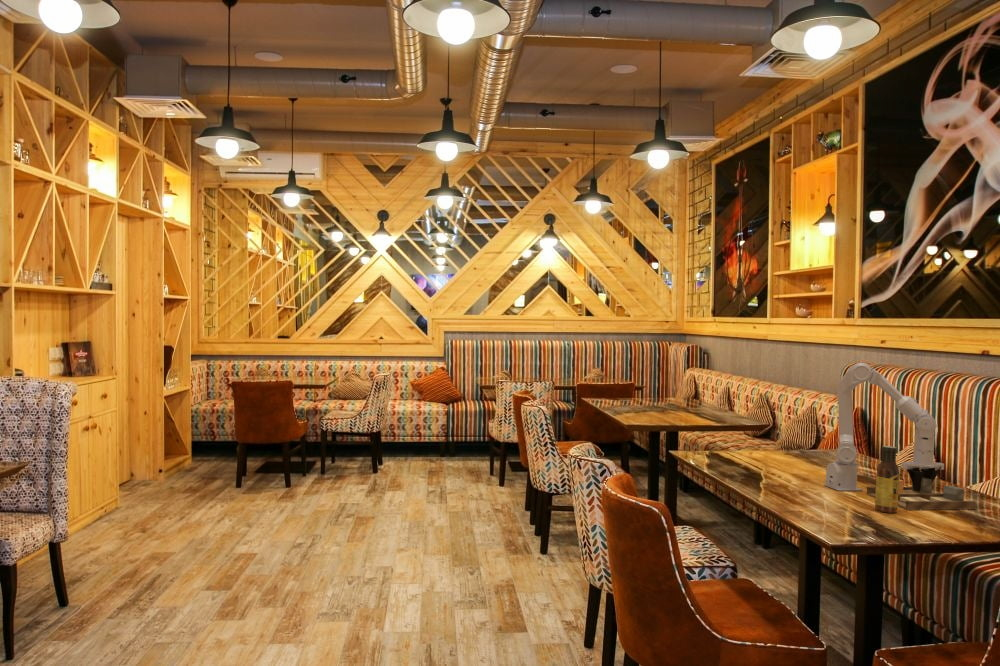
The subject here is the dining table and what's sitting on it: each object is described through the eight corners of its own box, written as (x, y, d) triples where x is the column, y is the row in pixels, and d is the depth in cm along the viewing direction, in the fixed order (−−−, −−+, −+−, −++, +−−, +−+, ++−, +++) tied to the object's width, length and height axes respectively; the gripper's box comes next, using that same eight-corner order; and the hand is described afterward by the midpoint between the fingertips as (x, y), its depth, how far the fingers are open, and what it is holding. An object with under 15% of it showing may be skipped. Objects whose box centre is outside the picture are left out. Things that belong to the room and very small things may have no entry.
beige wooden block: (889, 498, 232) (890, 480, 232) (875, 492, 239) (876, 475, 239) (933, 498, 235) (934, 480, 235) (917, 492, 242) (918, 475, 242)
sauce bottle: (896, 515, 215) (900, 449, 215) (873, 511, 219) (877, 446, 218) (898, 510, 221) (901, 446, 221) (875, 506, 224) (878, 444, 224)
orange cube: (890, 494, 234) (891, 480, 234) (881, 490, 238) (881, 477, 238) (902, 494, 235) (903, 480, 234) (893, 490, 239) (893, 477, 239)
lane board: (907, 510, 222) (908, 491, 222) (866, 494, 240) (867, 477, 240) (975, 509, 226) (976, 491, 226) (929, 494, 245) (930, 477, 244)
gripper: (913, 452, 233) (910, 493, 233) (952, 452, 235) (949, 493, 236) (897, 448, 240) (895, 488, 240) (935, 448, 242) (933, 488, 243)
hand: (921, 490), depth 238 cm, fingers closed on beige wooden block, 3 cm apart
